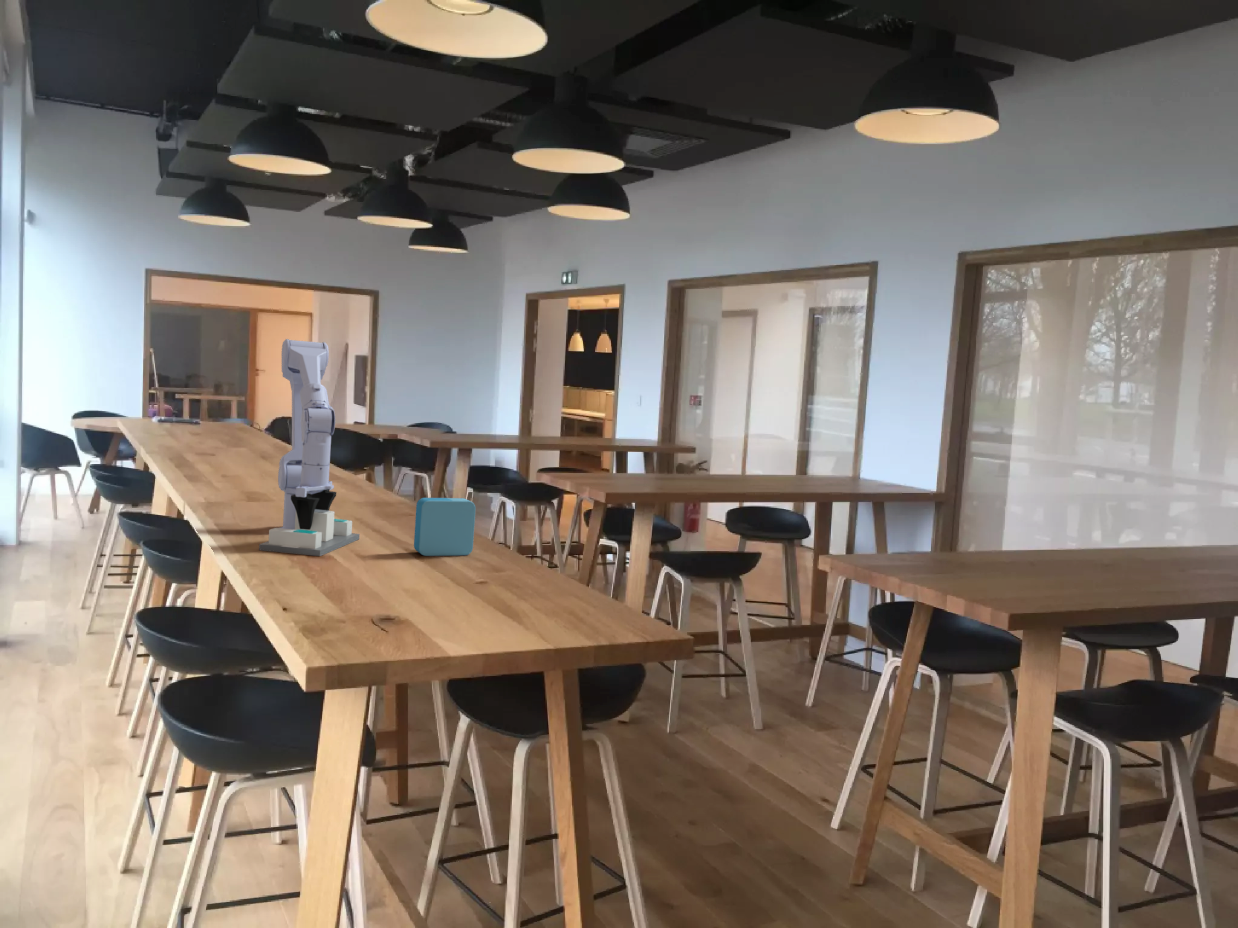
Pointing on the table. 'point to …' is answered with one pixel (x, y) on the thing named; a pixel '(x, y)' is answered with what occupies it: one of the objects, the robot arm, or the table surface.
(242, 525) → the table surface
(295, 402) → the robot arm
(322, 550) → the rail board
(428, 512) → the data package
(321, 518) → the block
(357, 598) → the table surface
